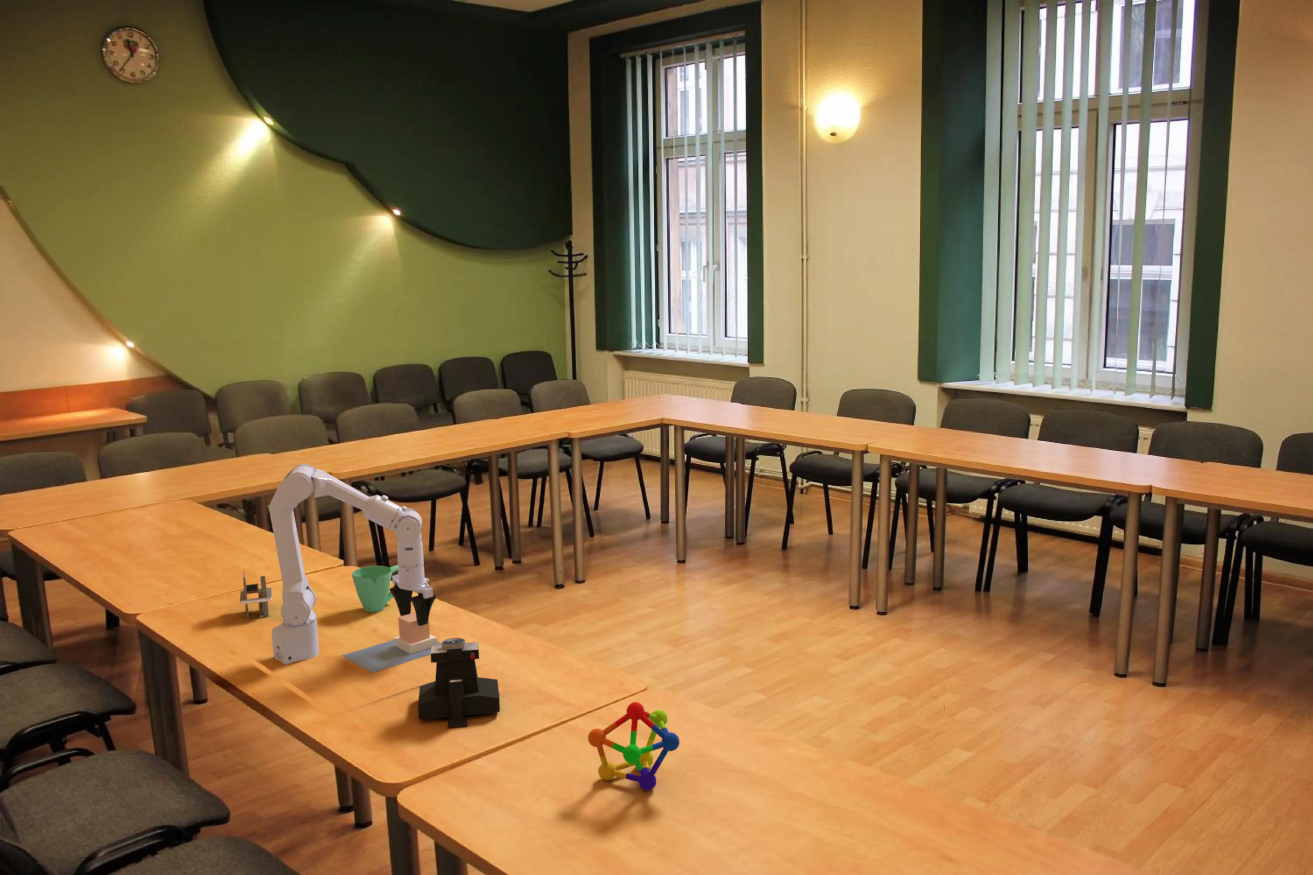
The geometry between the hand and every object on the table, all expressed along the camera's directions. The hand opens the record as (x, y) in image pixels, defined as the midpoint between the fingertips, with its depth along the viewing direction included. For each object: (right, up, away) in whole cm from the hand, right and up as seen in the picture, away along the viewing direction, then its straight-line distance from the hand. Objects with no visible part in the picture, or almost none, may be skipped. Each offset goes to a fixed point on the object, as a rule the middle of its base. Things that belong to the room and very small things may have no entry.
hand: (414, 620), depth 250 cm
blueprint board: (-4, -8, -2) cm, 9 cm away
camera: (+16, -13, -31) cm, 38 cm away
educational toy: (+53, -18, -60) cm, 82 cm away
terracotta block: (0, -4, +1) cm, 4 cm away
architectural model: (-46, -3, +27) cm, 53 cm away
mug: (-15, -2, +30) cm, 34 cm away
